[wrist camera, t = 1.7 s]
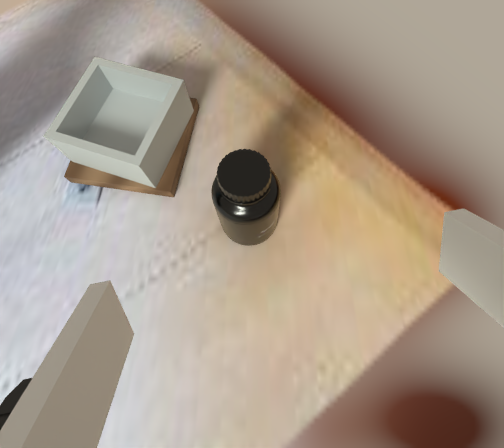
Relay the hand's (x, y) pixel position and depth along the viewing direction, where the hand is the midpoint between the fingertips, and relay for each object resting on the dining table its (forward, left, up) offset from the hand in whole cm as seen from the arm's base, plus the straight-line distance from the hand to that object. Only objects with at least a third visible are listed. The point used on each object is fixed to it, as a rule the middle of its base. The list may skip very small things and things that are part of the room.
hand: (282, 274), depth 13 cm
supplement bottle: (-6, +10, -24) cm, 27 cm away
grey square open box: (-24, +16, -22) cm, 36 cm away
